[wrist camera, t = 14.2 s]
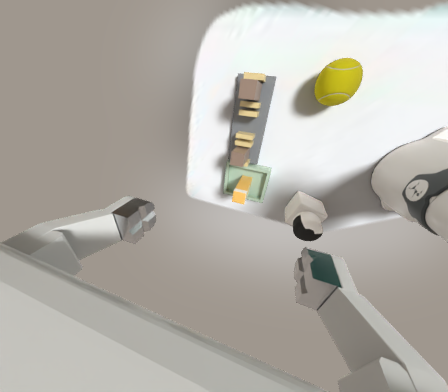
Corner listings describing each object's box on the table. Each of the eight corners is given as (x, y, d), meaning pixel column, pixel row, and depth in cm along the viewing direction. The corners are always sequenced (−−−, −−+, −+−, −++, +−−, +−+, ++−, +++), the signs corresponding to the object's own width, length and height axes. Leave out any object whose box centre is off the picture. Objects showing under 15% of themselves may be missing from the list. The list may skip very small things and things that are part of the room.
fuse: (252, 177, 45) (246, 193, 37) (250, 186, 47) (244, 204, 39) (242, 174, 46) (233, 190, 38) (240, 184, 48) (231, 201, 39)
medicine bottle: (306, 219, 47) (312, 249, 38) (284, 208, 48) (284, 235, 38) (322, 201, 43) (334, 230, 34) (298, 189, 44) (303, 215, 34)
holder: (239, 74, 35) (228, 66, 28) (276, 77, 34) (274, 69, 26) (229, 157, 45) (219, 168, 38) (257, 163, 44) (252, 175, 36)
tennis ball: (317, 64, 31) (325, 55, 25) (359, 61, 29) (379, 50, 23) (308, 105, 34) (313, 106, 29) (345, 105, 33) (359, 105, 27)
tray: (271, 167, 43) (271, 171, 41) (263, 198, 48) (262, 203, 46) (229, 159, 46) (226, 162, 43) (225, 189, 51) (223, 193, 49)
